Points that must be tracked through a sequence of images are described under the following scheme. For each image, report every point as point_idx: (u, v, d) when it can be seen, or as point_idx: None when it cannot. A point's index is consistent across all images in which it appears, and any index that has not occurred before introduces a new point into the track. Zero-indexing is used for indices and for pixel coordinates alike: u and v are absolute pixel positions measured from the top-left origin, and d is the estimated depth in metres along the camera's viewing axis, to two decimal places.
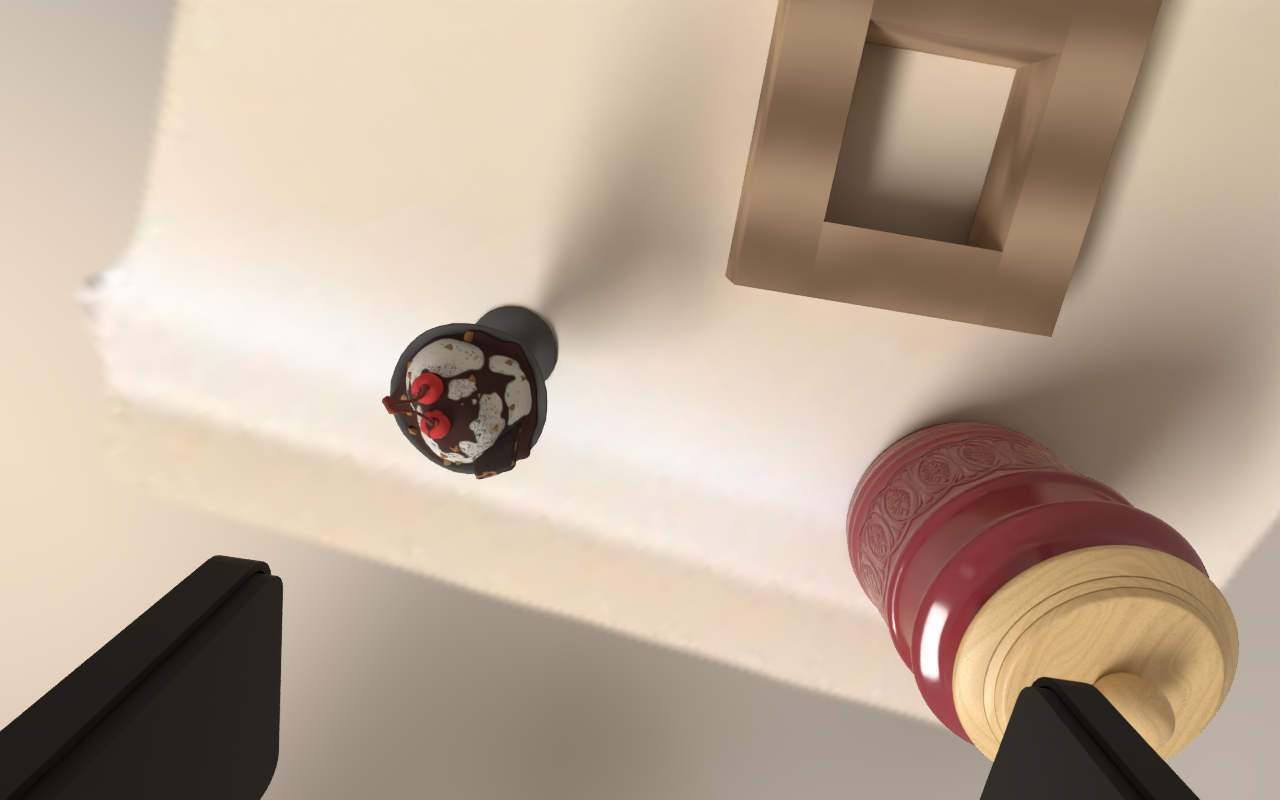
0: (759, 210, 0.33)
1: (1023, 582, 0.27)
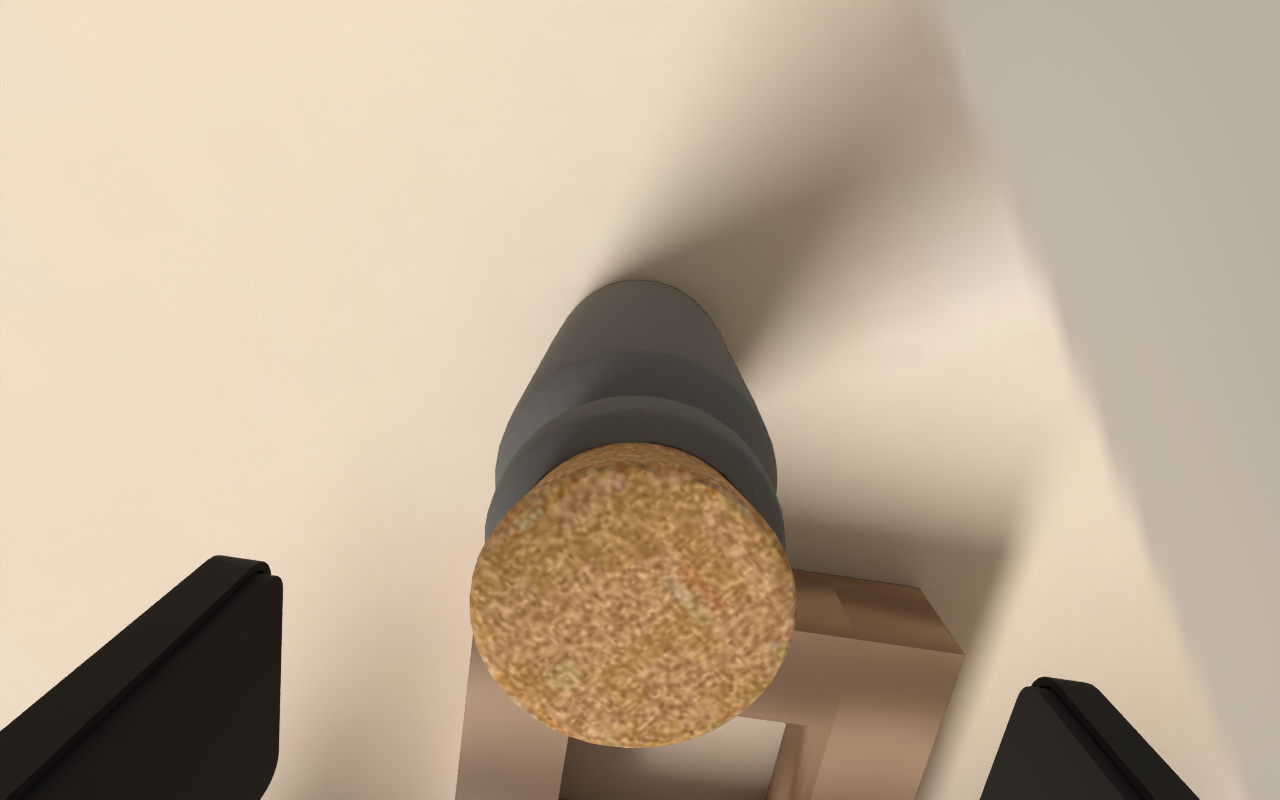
0: None
1: None
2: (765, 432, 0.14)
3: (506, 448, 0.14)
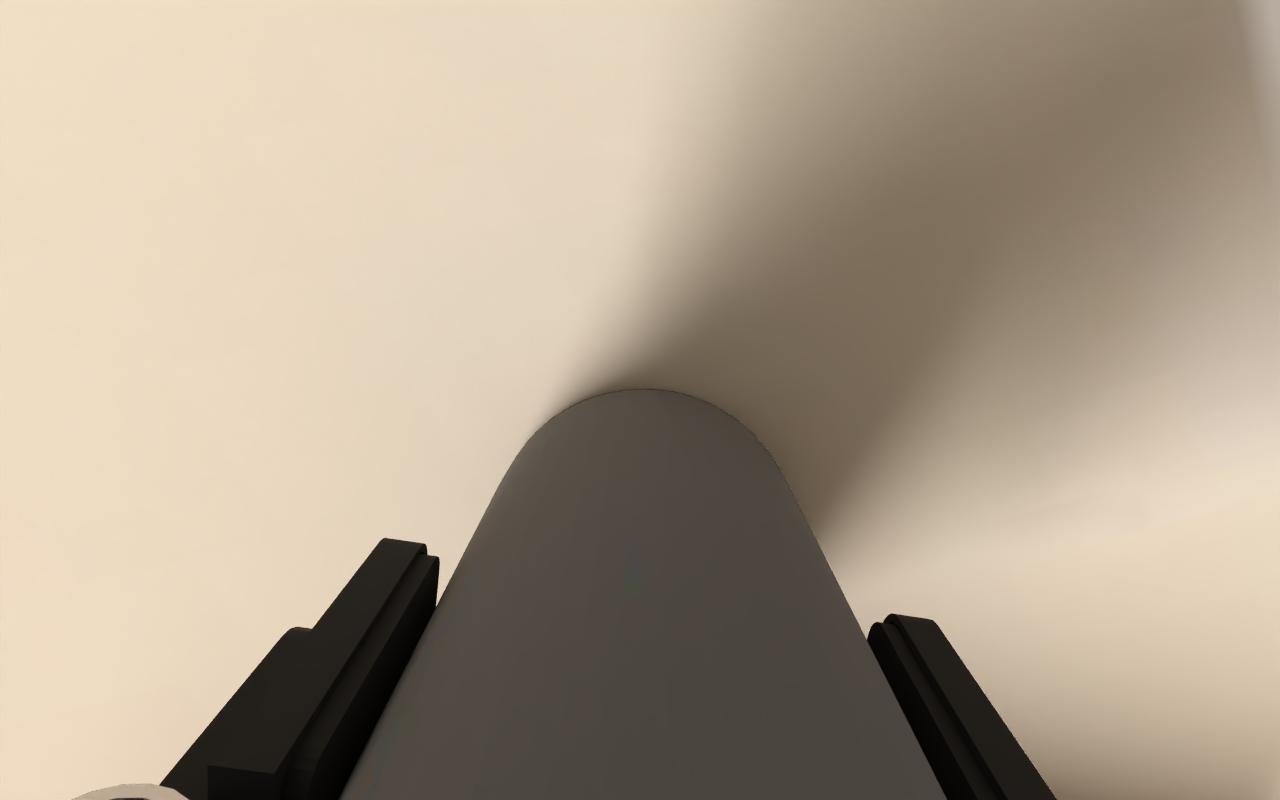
0: None
1: None
2: None
3: None
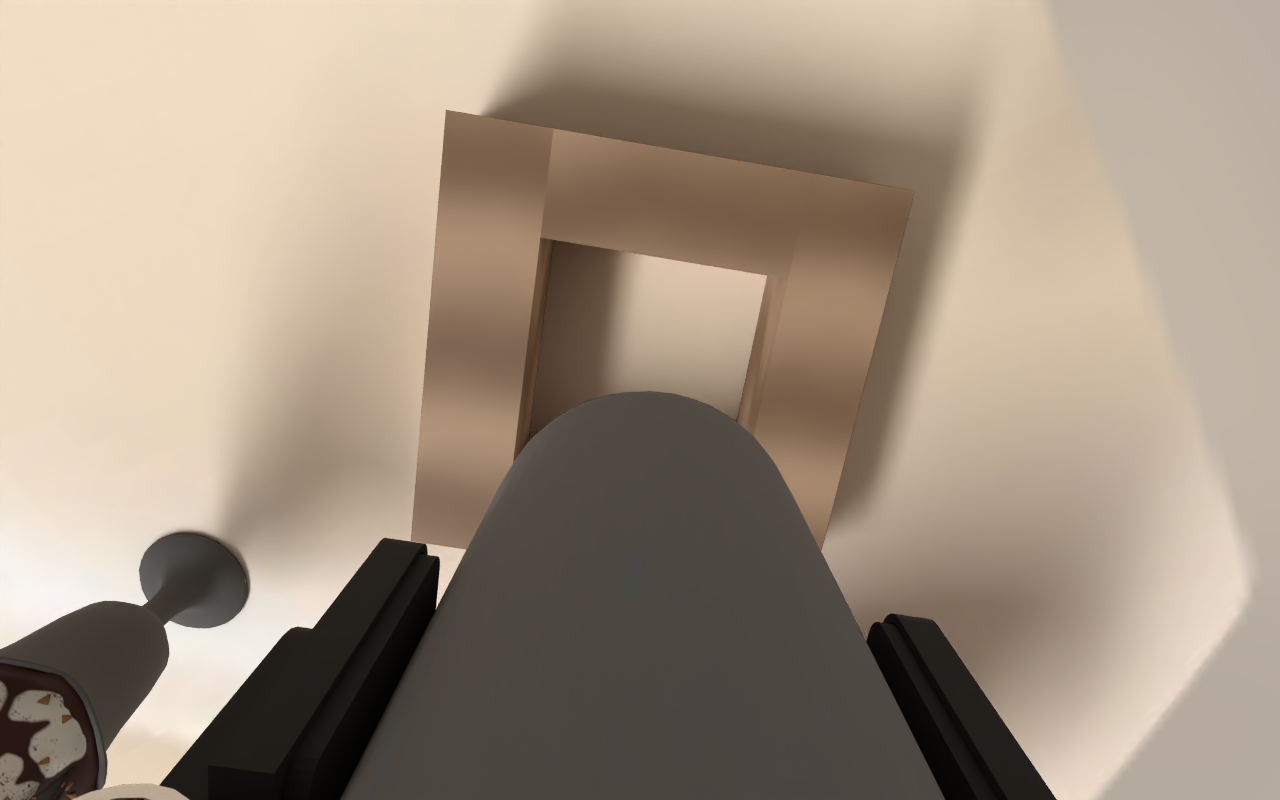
0: (430, 457, 0.27)
1: None
2: None
3: None
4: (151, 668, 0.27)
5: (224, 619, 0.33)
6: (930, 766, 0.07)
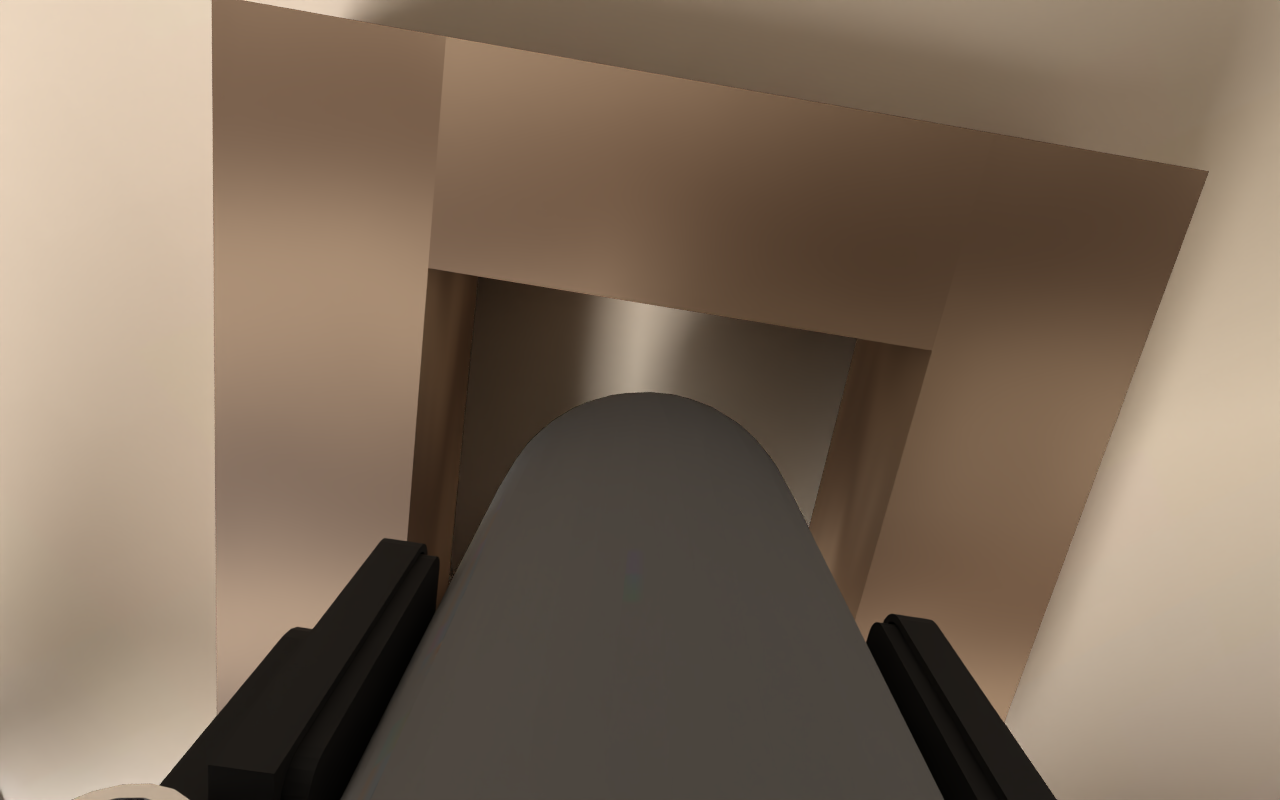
0: (240, 676, 0.14)
1: None
2: None
3: None
4: None
5: None
6: (930, 766, 0.07)
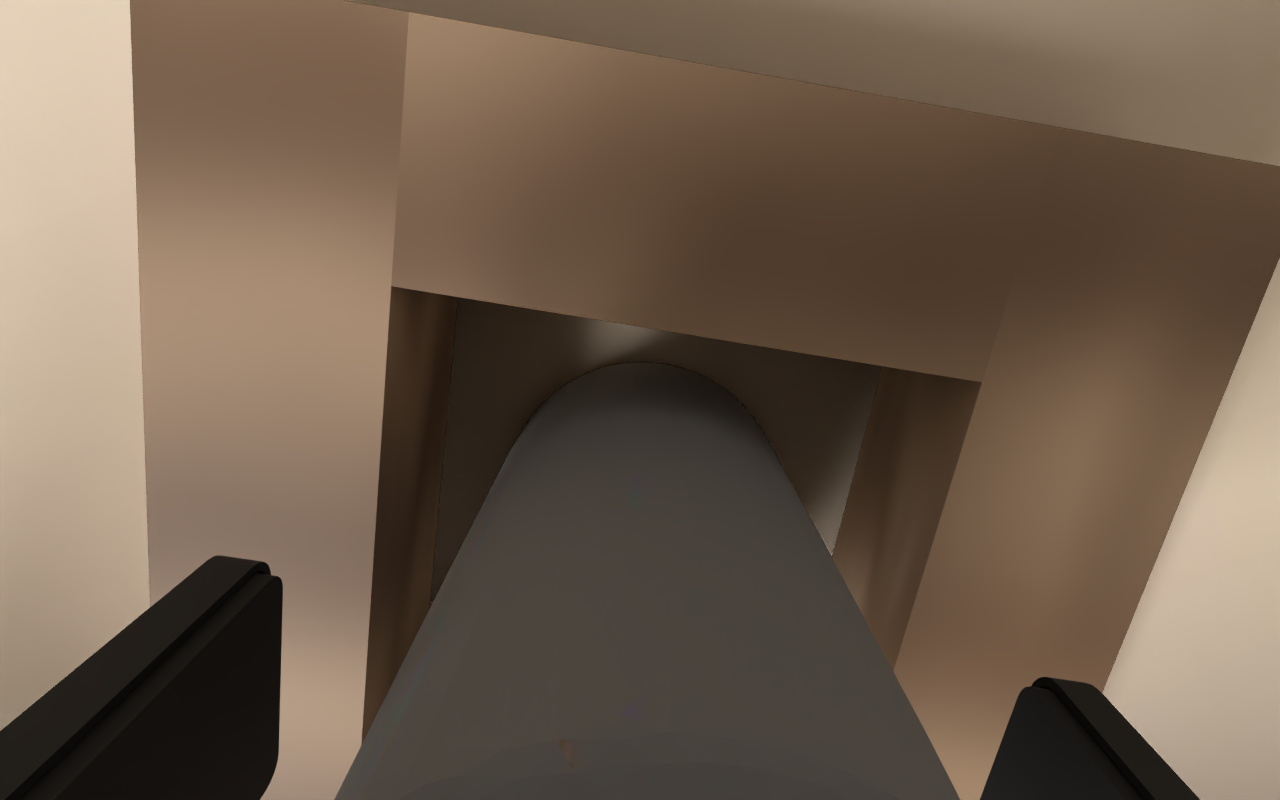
0: None
1: None
2: None
3: None
4: None
5: None
6: None
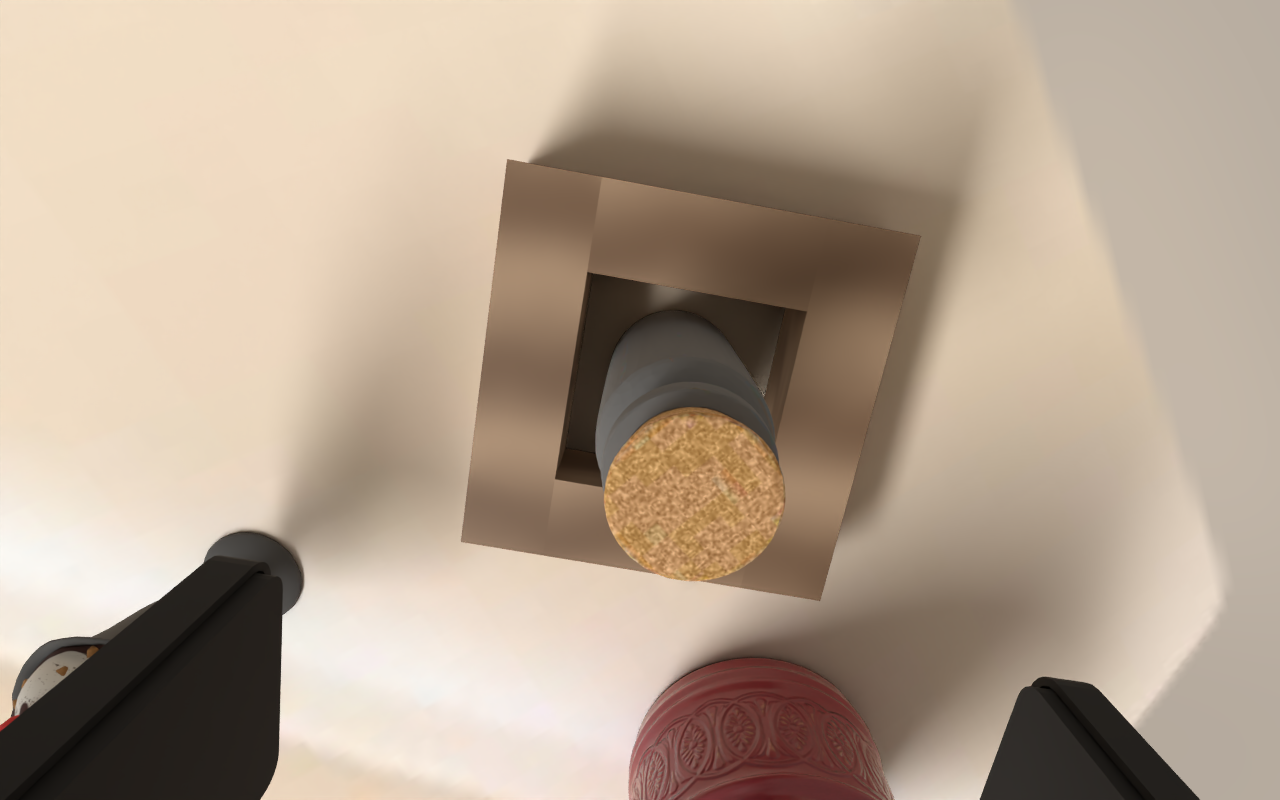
0: (481, 466, 0.30)
1: None
2: (767, 409, 0.22)
3: (604, 417, 0.22)
4: None
5: None
6: None
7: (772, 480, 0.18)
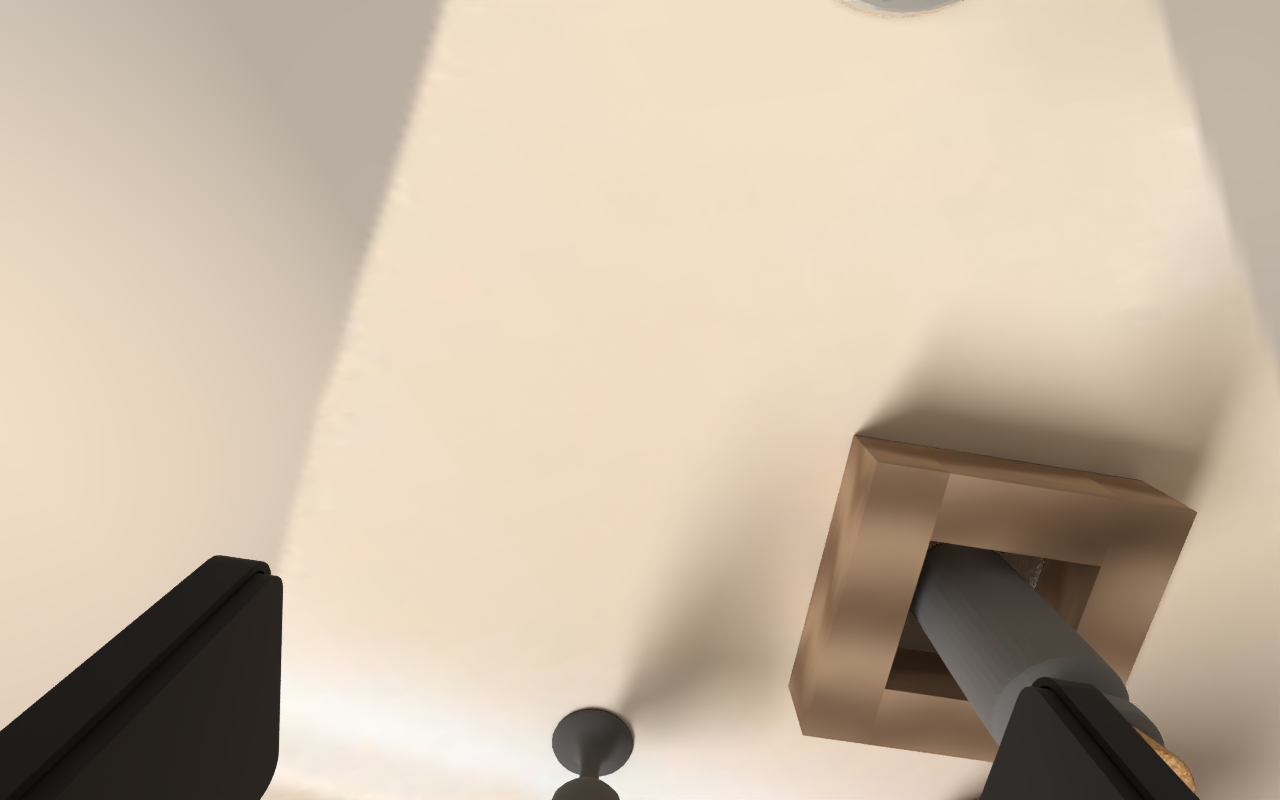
0: (827, 680, 0.37)
1: None
2: (1126, 691, 0.30)
3: (1004, 699, 0.30)
4: None
5: (613, 770, 0.43)
6: None
7: None
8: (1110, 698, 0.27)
